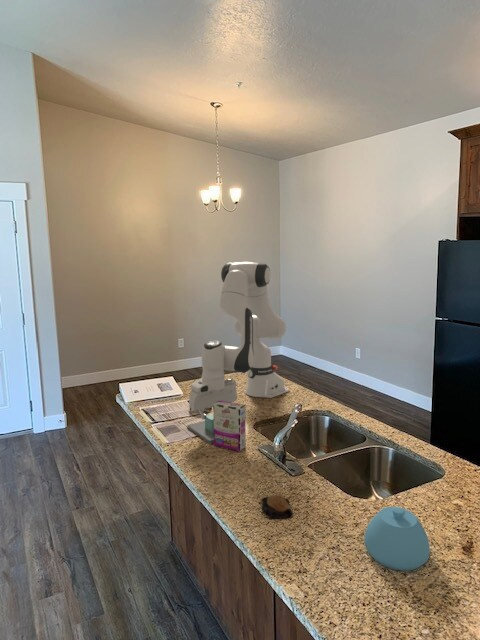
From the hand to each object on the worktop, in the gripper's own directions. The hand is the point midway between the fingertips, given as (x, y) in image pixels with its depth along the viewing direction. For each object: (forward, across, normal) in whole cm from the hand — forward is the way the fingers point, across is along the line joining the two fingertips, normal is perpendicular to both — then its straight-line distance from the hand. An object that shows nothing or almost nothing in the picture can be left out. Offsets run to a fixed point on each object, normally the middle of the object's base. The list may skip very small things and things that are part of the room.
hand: (214, 416), depth 183 cm
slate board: (+6, +1, 0) cm, 6 cm away
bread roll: (+6, +13, +56) cm, 58 cm away
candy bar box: (+6, +3, +15) cm, 17 cm away
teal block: (+5, 0, 0) cm, 5 cm away
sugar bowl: (+6, 0, +87) cm, 88 cm away
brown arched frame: (+7, -8, -25) cm, 27 cm away
